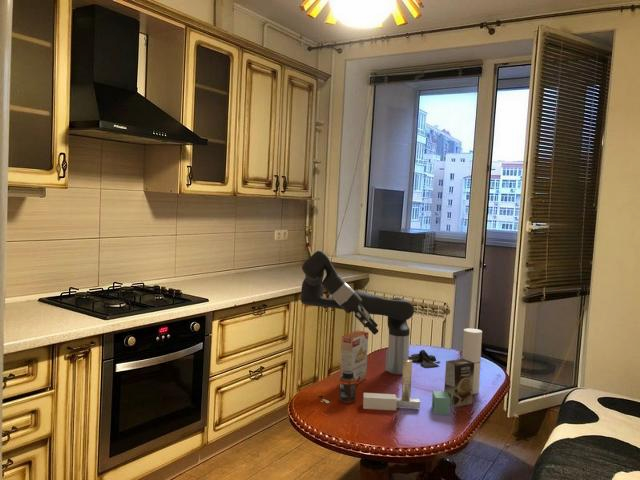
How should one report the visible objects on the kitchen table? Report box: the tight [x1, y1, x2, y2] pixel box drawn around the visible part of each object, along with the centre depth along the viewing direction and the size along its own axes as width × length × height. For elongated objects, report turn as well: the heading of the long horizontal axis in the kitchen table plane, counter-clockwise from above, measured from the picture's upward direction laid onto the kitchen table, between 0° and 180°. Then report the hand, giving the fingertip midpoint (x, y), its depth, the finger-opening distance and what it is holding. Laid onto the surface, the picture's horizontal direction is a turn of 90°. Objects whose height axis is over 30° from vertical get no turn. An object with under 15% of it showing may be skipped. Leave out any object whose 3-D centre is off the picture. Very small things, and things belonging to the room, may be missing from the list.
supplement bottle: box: [339, 370, 357, 404], centre depth 195 cm, size 6×6×11 cm
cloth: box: [408, 349, 441, 369], centre depth 250 cm, size 22×19×6 cm
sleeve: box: [362, 392, 398, 411], centre depth 191 cm, size 12×5×4 cm, turn 86°
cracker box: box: [338, 329, 369, 386], centre depth 215 cm, size 14×6×21 cm, turn 148°
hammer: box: [396, 359, 421, 409], centre depth 190 cm, size 20×3×17 cm, turn 86°
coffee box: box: [443, 358, 474, 408], centre depth 197 cm, size 9×6×16 cm
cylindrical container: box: [461, 327, 483, 395], centre depth 210 cm, size 7×7×25 cm
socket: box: [431, 390, 451, 416], centre depth 189 cm, size 5×7×6 cm
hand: (376, 330), depth 189 cm, fingers open, 8 cm apart
